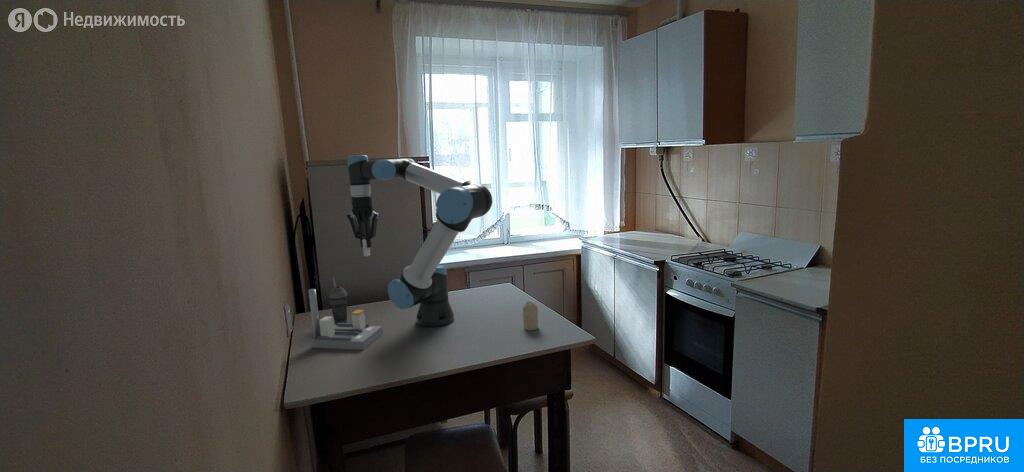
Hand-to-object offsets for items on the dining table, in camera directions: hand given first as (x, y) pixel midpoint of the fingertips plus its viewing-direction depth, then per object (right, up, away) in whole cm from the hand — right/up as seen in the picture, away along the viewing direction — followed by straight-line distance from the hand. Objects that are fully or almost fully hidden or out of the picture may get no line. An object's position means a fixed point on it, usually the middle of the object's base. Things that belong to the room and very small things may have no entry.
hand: (367, 255), depth 188 cm
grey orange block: (0, -27, -8) cm, 28 cm away
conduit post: (-13, -29, -15) cm, 35 cm away
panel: (-3, -31, -11) cm, 33 cm away
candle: (+64, -27, -7) cm, 70 cm away
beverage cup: (-13, -28, +7) cm, 32 cm away
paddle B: (-10, -29, -15) cm, 34 cm away
